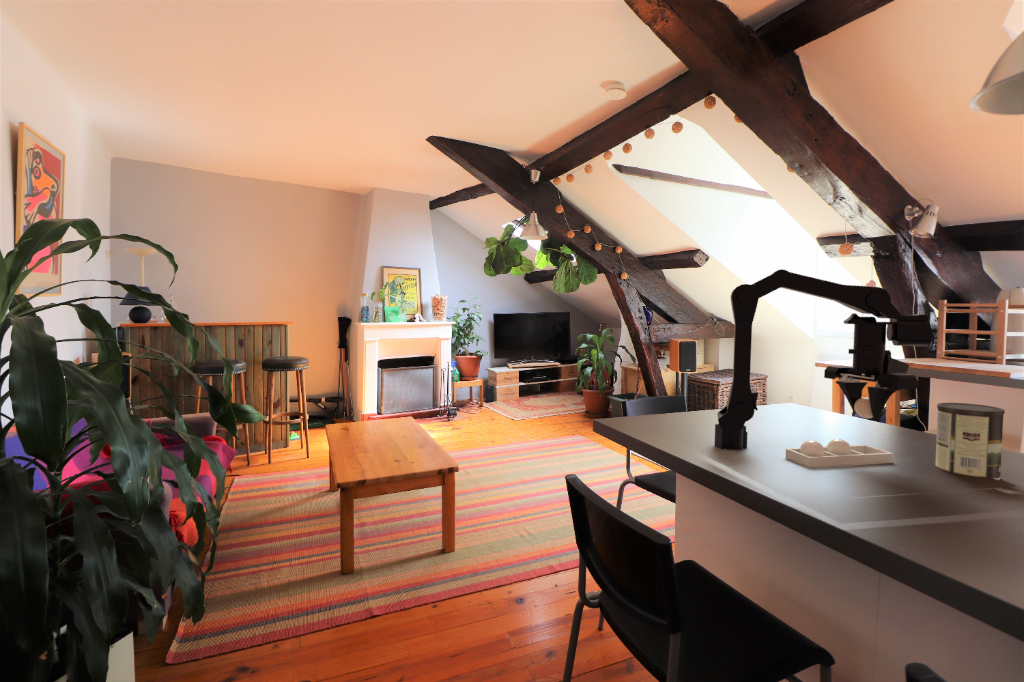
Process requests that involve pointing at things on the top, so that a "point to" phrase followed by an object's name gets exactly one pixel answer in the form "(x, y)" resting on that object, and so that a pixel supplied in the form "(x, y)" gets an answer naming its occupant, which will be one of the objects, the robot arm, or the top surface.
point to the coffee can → (969, 439)
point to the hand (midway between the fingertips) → (866, 415)
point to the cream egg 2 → (839, 447)
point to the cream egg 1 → (812, 449)
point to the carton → (842, 457)
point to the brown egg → (863, 407)
